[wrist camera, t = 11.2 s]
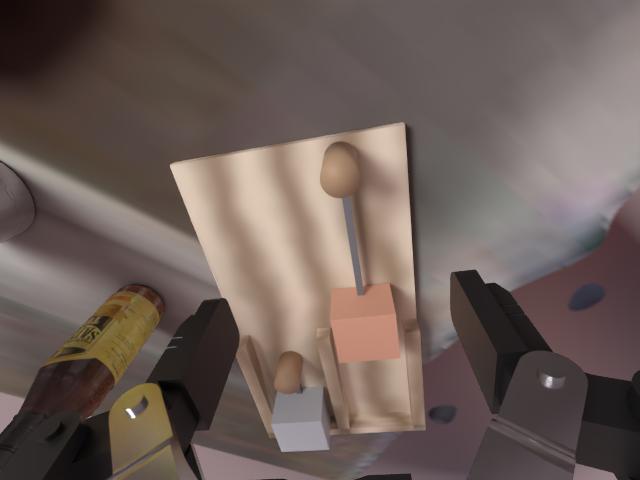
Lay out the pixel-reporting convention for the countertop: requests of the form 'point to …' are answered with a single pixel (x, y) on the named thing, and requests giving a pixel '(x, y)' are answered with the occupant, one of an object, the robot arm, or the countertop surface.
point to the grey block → (299, 409)
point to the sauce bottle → (87, 363)
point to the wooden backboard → (312, 268)
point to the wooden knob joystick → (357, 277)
